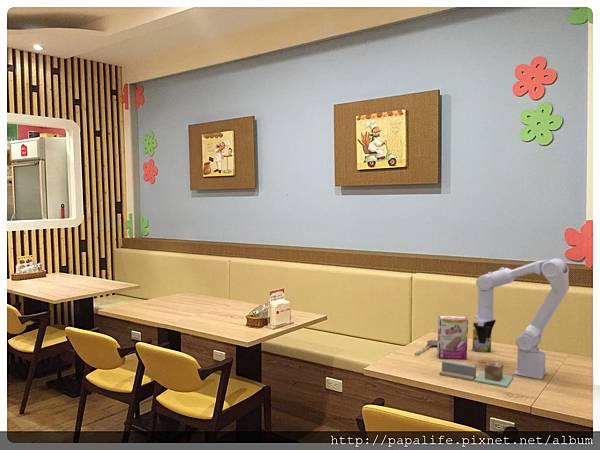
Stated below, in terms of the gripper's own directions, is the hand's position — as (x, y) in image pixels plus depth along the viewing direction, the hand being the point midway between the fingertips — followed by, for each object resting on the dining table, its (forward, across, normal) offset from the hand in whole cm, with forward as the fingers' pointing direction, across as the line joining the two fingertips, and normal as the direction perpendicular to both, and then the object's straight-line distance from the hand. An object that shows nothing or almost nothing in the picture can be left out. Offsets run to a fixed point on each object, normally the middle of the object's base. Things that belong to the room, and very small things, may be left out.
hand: (484, 340), depth 207 cm
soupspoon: (+10, -8, -25) cm, 28 cm away
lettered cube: (+9, +15, +7) cm, 19 cm away
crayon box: (+10, -17, -5) cm, 20 cm away
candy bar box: (+10, -2, -13) cm, 16 cm away
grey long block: (+9, +18, -5) cm, 21 cm away
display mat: (+9, +15, +7) cm, 19 cm away
